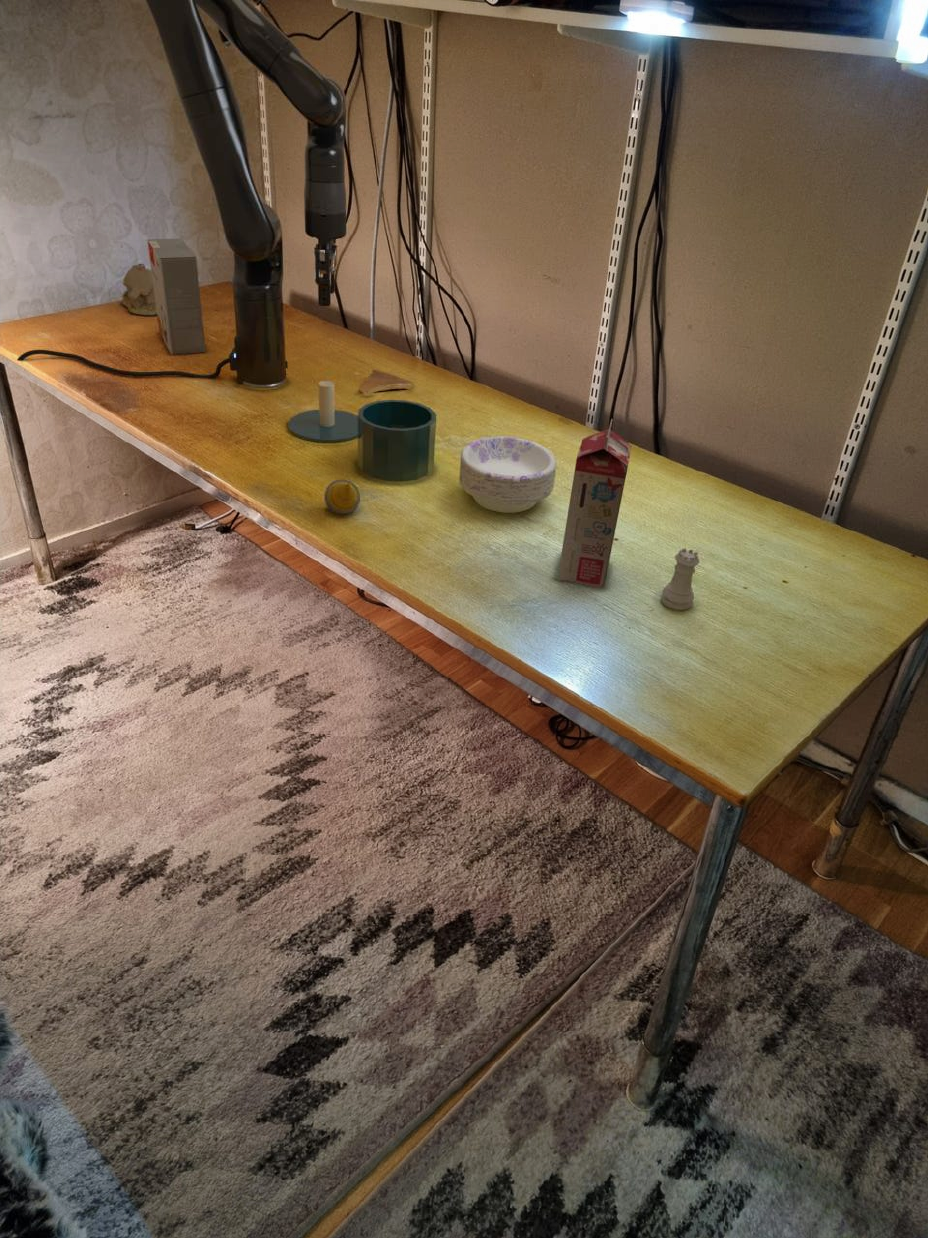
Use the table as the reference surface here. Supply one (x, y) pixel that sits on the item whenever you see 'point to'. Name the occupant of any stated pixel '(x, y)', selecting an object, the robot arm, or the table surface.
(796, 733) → the table surface
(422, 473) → the pot
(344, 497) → the drill bit
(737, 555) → the table surface
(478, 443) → the paper bowls
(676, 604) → the rook chess piece
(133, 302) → the ceramic model
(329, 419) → the lid
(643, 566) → the table surface
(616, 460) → the juice carton
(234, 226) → the robot arm
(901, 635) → the table surface
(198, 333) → the hard drive box
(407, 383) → the pottery shard
